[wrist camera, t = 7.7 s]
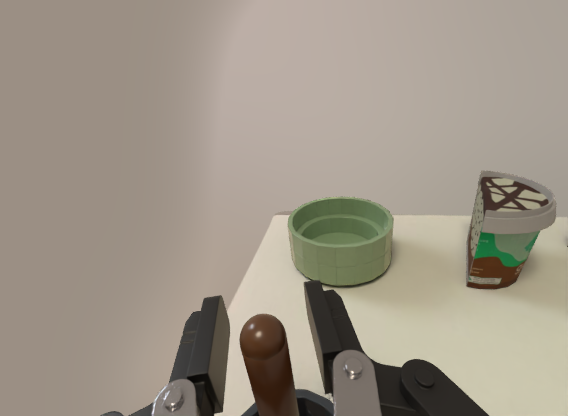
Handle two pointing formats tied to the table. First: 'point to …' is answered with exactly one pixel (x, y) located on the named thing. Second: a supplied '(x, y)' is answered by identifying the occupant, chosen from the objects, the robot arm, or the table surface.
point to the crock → (304, 405)
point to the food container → (505, 227)
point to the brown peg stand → (269, 366)
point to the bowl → (341, 240)
